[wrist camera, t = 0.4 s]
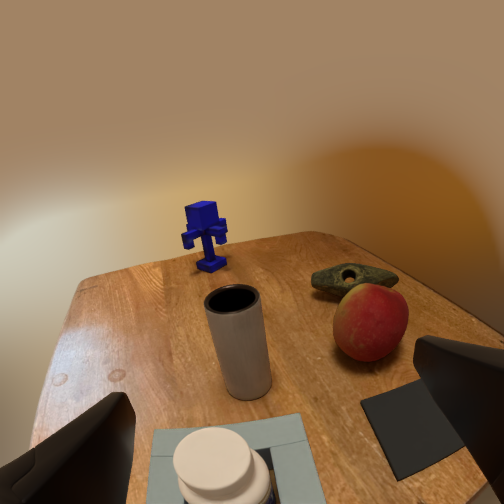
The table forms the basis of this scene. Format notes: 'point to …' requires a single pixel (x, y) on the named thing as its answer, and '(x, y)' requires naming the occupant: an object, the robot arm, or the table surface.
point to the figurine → (205, 233)
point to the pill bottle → (221, 469)
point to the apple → (370, 322)
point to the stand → (259, 439)
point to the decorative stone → (336, 276)
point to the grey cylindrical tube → (239, 339)
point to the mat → (410, 428)
